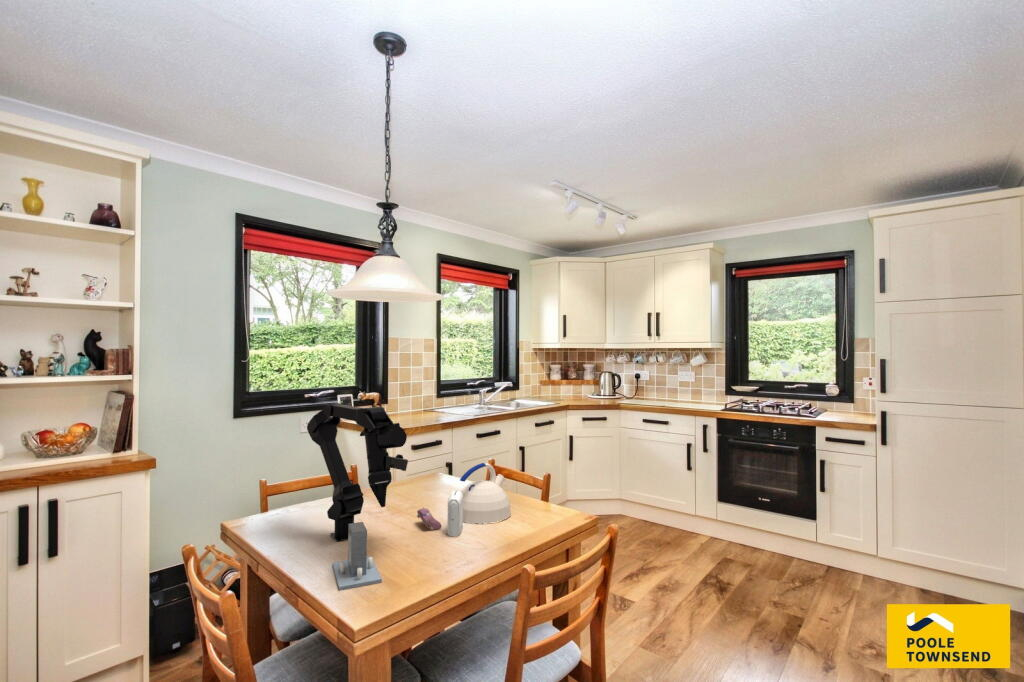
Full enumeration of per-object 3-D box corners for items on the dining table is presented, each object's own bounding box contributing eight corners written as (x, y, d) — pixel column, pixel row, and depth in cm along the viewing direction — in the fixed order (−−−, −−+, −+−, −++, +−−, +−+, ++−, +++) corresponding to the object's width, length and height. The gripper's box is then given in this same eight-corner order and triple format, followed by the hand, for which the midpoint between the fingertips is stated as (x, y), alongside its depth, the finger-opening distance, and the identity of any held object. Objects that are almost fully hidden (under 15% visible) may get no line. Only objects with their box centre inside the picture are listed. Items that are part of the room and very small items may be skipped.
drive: (347, 566, 127) (347, 523, 127) (362, 563, 128) (362, 521, 128) (350, 577, 120) (351, 532, 121) (366, 574, 122) (367, 530, 122)
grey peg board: (332, 565, 129) (332, 552, 129) (371, 558, 133) (371, 546, 133) (339, 590, 115) (339, 576, 115) (381, 582, 120) (382, 568, 120)
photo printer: (460, 536, 150) (460, 496, 150) (446, 536, 150) (446, 496, 150) (463, 525, 160) (464, 487, 160) (450, 525, 160) (451, 487, 160)
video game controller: (421, 526, 163) (412, 509, 162) (433, 518, 165) (424, 501, 164) (431, 536, 154) (421, 518, 153) (443, 527, 156) (434, 509, 155)
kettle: (523, 514, 172) (523, 463, 172) (480, 529, 157) (480, 473, 157) (484, 502, 185) (484, 454, 186) (441, 514, 170) (441, 463, 171)
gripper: (406, 446, 136) (413, 503, 133) (402, 444, 153) (408, 494, 151) (365, 453, 132) (371, 512, 130) (366, 450, 150) (372, 502, 148)
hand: (382, 504), depth 140 cm, fingers open, 9 cm apart
